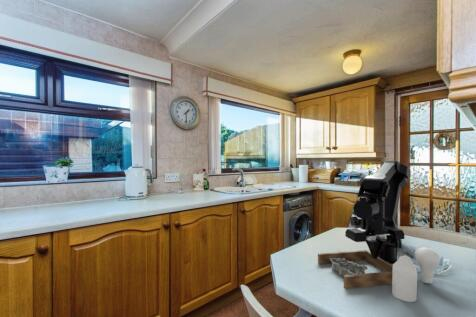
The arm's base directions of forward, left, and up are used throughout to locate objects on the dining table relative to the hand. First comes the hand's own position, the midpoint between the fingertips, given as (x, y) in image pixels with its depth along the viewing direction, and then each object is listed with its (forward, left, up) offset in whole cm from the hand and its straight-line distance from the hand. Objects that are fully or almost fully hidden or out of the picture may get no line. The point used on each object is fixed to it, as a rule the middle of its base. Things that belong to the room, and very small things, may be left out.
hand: (374, 258), depth 80 cm
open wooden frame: (+7, 0, -4) cm, 8 cm away
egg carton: (+10, 0, -5) cm, 11 cm away
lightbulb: (-10, +10, -4) cm, 15 cm away
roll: (+3, +15, -5) cm, 15 cm away
